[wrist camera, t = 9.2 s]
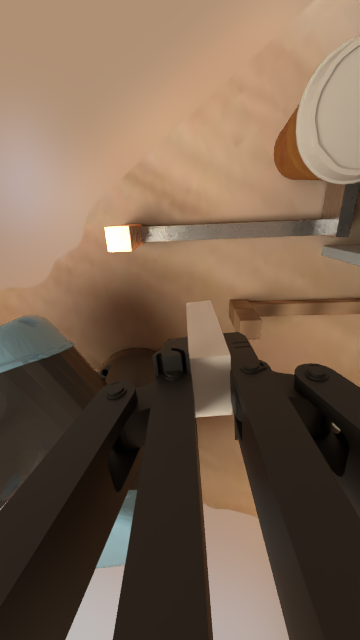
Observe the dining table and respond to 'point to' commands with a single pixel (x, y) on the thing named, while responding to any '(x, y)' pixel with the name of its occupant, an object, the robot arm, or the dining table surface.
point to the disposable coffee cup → (325, 123)
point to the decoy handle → (284, 311)
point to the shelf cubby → (343, 253)
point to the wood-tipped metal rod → (246, 225)
